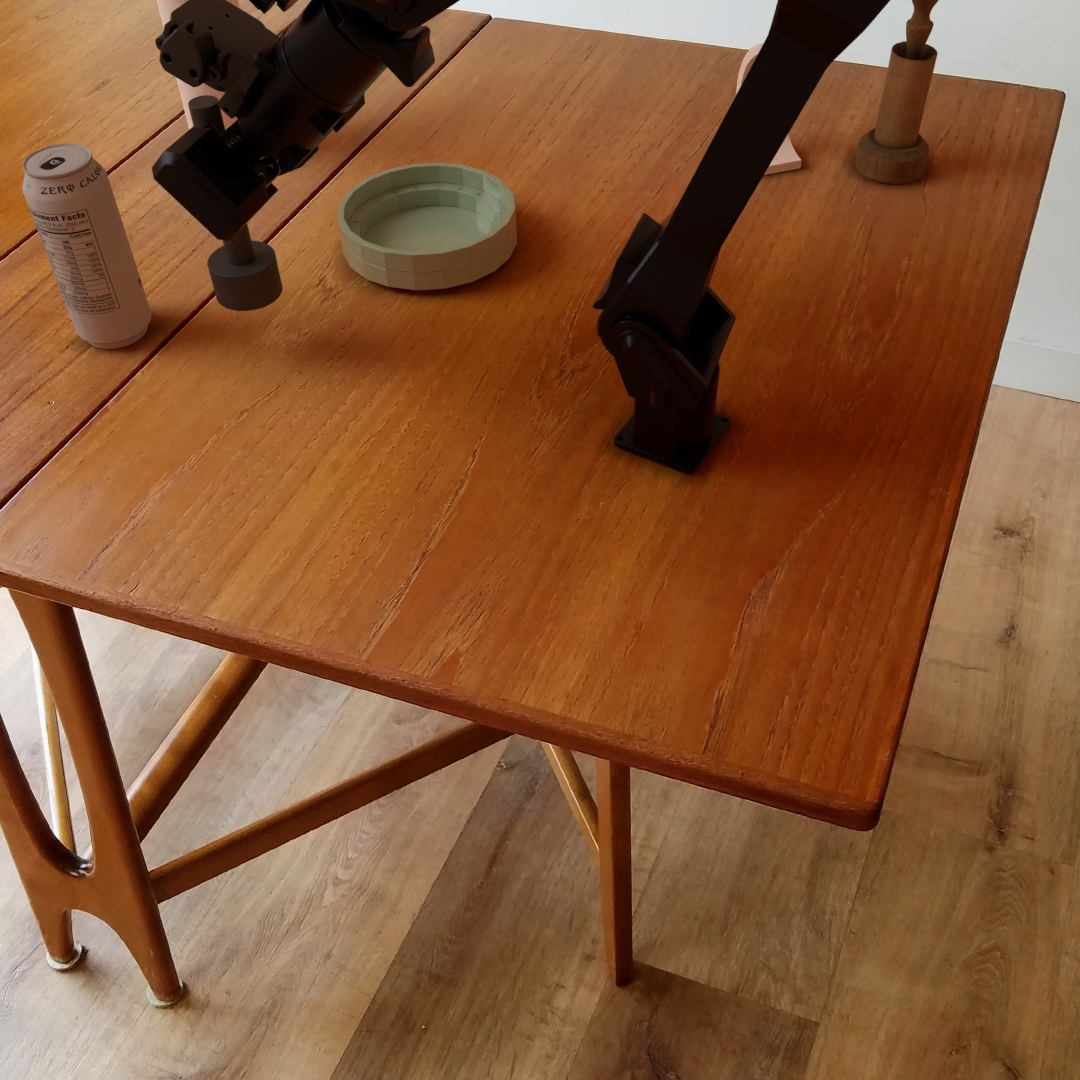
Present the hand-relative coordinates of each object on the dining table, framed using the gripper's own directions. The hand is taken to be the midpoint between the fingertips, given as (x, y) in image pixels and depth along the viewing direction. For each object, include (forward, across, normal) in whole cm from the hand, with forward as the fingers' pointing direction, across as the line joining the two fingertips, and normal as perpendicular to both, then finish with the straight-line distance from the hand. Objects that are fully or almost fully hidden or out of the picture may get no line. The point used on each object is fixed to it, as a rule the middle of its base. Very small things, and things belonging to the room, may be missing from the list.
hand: (211, 199), depth 83 cm
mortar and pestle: (-22, -44, +41) cm, 64 cm away
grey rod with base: (+4, 0, +6) cm, 8 cm away
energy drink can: (+17, +1, +1) cm, 17 cm away
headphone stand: (-14, -42, +32) cm, 55 cm away
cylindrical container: (+22, -29, -4) cm, 37 cm away
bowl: (+4, -18, +15) cm, 24 cm away
